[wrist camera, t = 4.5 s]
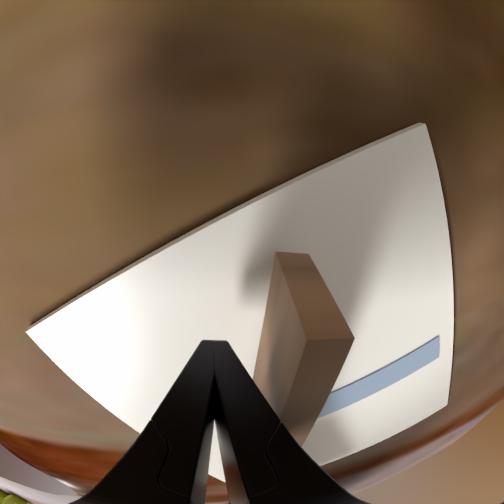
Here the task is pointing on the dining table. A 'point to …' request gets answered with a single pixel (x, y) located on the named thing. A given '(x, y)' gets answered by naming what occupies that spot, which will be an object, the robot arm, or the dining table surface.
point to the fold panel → (300, 343)
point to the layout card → (257, 287)
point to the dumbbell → (10, 499)
